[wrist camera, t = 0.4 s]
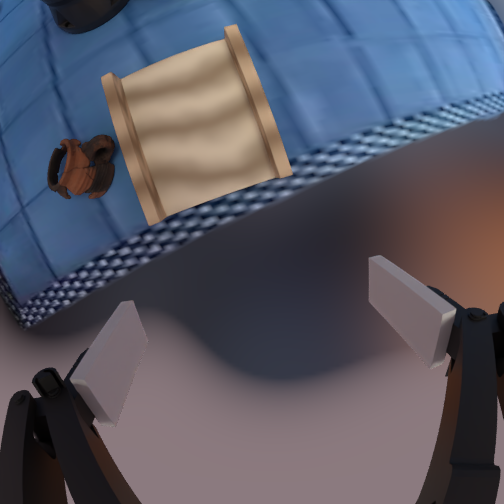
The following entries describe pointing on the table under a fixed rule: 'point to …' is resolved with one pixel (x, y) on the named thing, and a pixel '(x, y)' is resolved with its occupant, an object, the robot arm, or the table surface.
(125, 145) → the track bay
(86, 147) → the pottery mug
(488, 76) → the table surface
